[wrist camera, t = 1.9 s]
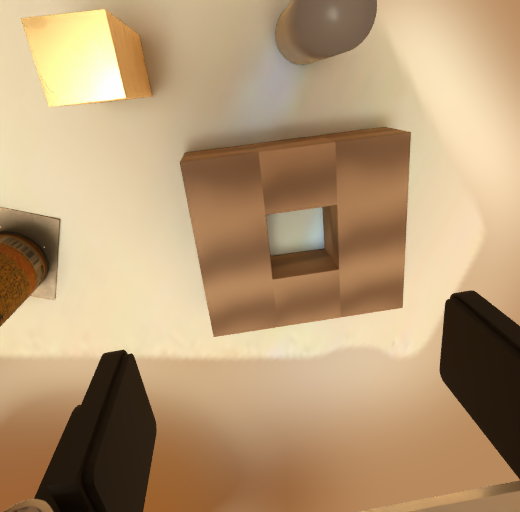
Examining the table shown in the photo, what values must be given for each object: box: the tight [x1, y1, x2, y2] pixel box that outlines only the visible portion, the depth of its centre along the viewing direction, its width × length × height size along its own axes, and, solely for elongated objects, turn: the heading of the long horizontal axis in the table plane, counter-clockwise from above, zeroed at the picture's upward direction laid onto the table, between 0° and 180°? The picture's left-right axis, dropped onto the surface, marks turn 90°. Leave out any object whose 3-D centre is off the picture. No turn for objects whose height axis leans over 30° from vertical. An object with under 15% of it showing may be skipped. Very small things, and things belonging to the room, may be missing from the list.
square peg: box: [21, 9, 152, 107], centre depth 26 cm, size 4×4×10 cm
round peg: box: [275, 0, 377, 65], centre depth 26 cm, size 4×4×10 cm
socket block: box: [180, 127, 411, 337], centre depth 35 cm, size 16×18×5 cm
